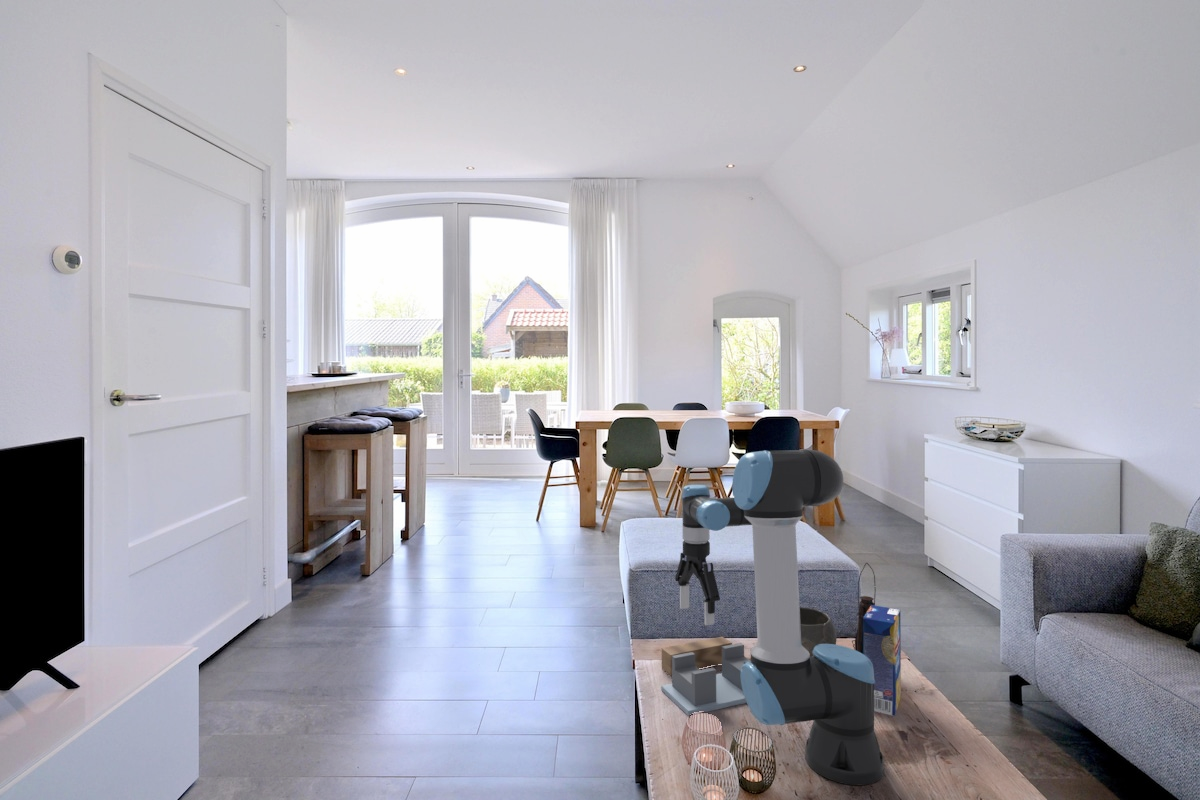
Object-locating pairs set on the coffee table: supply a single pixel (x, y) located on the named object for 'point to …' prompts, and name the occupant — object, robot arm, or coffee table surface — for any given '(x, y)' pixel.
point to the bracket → (707, 682)
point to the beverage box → (884, 655)
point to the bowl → (816, 629)
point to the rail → (696, 652)
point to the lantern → (863, 608)
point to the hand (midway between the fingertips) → (696, 616)
